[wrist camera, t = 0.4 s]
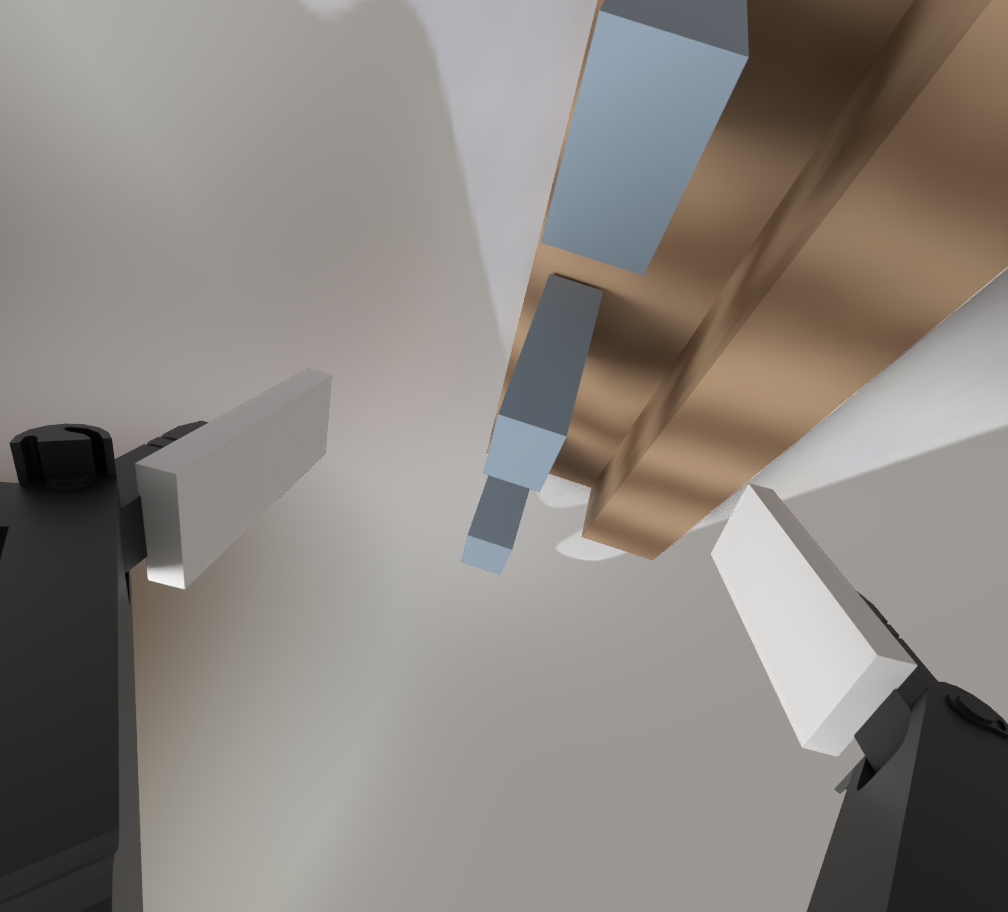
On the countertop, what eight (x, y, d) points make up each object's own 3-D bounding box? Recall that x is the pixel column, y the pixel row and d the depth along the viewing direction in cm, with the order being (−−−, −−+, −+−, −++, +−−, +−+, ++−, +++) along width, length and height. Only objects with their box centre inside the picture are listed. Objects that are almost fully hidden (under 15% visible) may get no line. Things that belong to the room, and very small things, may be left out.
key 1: (508, 418, 37) (467, 535, 31) (546, 430, 36) (512, 549, 31) (498, 453, 41) (460, 561, 35) (532, 464, 41) (500, 574, 35)
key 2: (651, -84, 15) (599, 10, 9) (744, -54, 15) (748, 57, 9) (598, 102, 19) (540, 242, 13) (671, 125, 19) (643, 275, 13)
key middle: (549, 273, 26) (498, 414, 20) (603, 291, 26) (566, 436, 20) (530, 341, 30) (483, 473, 24) (576, 356, 30) (539, 492, 24)
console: (638, -150, 15) (609, -123, 12) (1154, 9, 15) (1275, 83, 11) (490, 442, 42) (469, 500, 39) (668, 500, 42) (662, 563, 39)
